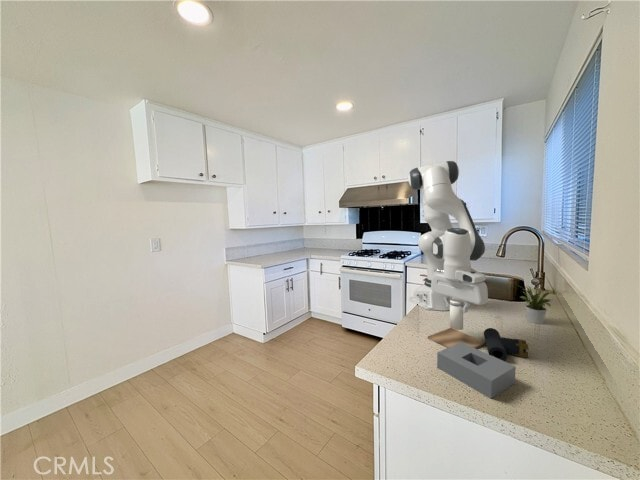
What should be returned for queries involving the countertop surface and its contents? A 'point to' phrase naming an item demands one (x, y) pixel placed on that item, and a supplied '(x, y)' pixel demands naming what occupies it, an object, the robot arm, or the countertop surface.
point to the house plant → (536, 306)
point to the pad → (455, 338)
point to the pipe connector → (504, 345)
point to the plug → (456, 314)
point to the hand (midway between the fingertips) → (456, 309)
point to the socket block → (476, 369)
